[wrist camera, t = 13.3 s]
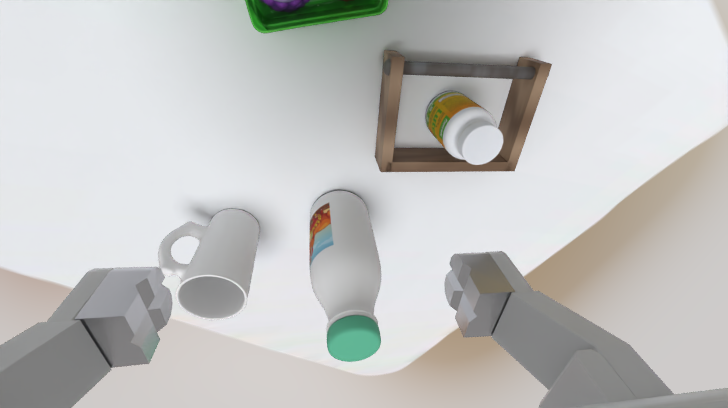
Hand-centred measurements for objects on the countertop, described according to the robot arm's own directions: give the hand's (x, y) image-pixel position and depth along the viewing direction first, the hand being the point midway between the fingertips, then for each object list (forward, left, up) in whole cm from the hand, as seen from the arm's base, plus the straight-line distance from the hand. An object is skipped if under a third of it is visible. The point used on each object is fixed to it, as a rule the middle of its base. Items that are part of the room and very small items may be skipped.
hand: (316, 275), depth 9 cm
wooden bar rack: (+4, +15, -29) cm, 33 cm away
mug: (+19, -12, -29) cm, 37 cm away
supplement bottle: (+4, +15, -29) cm, 33 cm away
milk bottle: (+18, +3, -29) cm, 35 cm away
